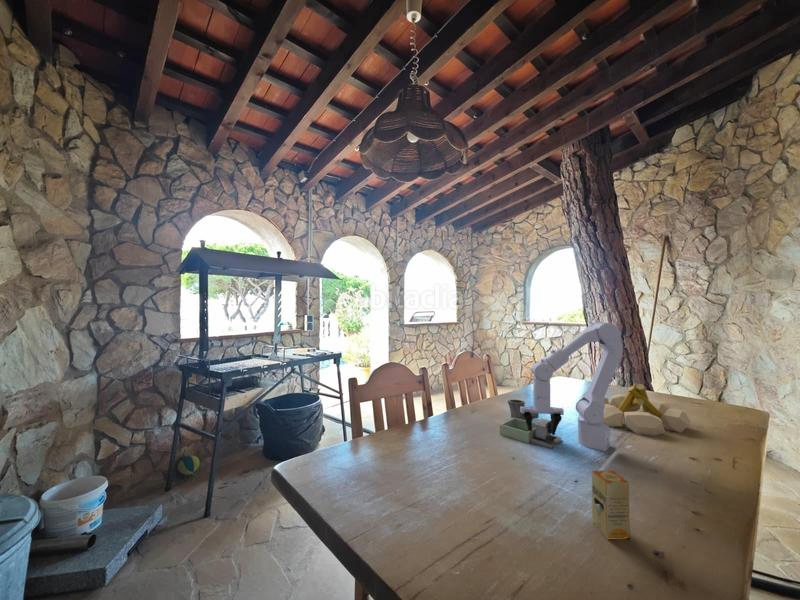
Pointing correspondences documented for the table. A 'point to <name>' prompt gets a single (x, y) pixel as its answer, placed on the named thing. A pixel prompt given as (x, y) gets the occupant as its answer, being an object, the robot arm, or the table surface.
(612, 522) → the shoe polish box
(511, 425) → the bin
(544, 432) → the grey plug block
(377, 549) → the table surface
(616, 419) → the campfire
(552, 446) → the socket block
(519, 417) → the pipe
